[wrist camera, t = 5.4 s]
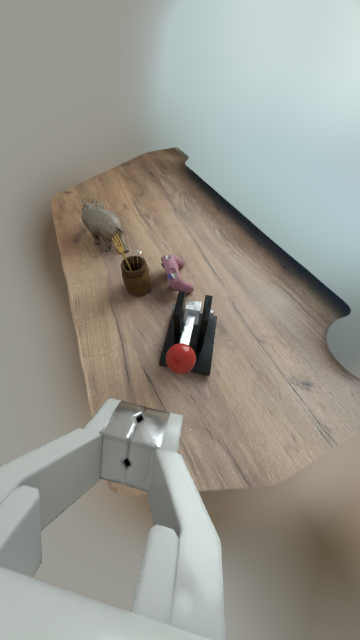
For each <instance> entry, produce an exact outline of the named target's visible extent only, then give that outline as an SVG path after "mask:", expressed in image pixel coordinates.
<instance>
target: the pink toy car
mask: <svg viewBox="0 0 360 640" xmlns="http://www.w3.org/2000/svg"><path fill="white" fill-rule="evenodd" d="M161 260H162V262H163V264H162V263H161V265H162V267H163V268H165V270H166V273H167V276H166V278H167V281H168V283H169V285H170V286H171V288H172V289H173V290H177V291H184V292H186V293H191V292H193V290H194V287H193V286H192V285H191V284H189V283H186V282H184V281H183V280H182V279H181V277H180V274H179V271H178V268H182V267H184V265H185V263H184V261H183V260H181V259H179V258H177V257H175V256H173V255H171V254H169V255H165V256H163V257H162V258H161Z"/></svg>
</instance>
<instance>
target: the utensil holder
mask: <svg viewBox="0 0 360 640" xmlns="http://www.w3.org/2000/svg"><path fill="white" fill-rule="evenodd" d="M116 236H117V238H118V240H119V242H120V244H119V242H118V240H117V239H116V237H115V236H114V238H115V240H116V242H117V245H118V247H119V248H118V247H117V245H116V243H115V241H114V239H113V238H112V241H113V243H114V245H115V247H116V249H117V251H118V252H119V253H122V255H123V257H124V260H123V261H122V263H121V270H122V277H123V280H124V283H125V286H126V288H127V290H128V292H129V293H130V294H132V295H135V296H141V295H145V294H146V293H148V292H149V291H150V289H151V286H152V282H151V276H150V271H149V269H148V267H147V264H146V261H145V260H144V259H143V258H144V256H143V258H142V256H141V257H140V256H138V254H137V256H130V257H127V258H126V257H125V255H124V253H123V251H124V246H123V244H122V242H121V240H120V238H119V236H118V234H116ZM120 245H121V246H120ZM134 251H135V250H134ZM136 252H138V253H139V250H138V251H136ZM133 253H134V252H132V254H133ZM141 253H142V252H141ZM132 254H131V255H132ZM139 254H140V253H139ZM142 254H143V253H142Z"/></svg>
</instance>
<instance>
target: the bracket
mask: <svg viewBox="0 0 360 640" xmlns="http://www.w3.org/2000/svg"><path fill="white" fill-rule="evenodd" d="M185 299H186V292H184V291H179V294H178V298H177V301H176V304H174V305H173V309H172V313H173V314H172V317H171V321H170V325H169V328H168V332H167V336H166V340H165V343H164V347H163V351H162V354H161V358H160V362H159V365H160V366H164V367H168V366H167V363H166V354H167V352H168V350H169V349H170V348H171V347H172V346H173V345H175V344H179V343H180V339H181V336H182V333H183V329H184V326H185V322H183V320H184V311H185ZM211 304H212V296H209V295H206V297H205V302H204V308H203V313H202V314H200V316H199V321H198V325H197V324H194V326H193V331H192V335H191V340H190V344H189V346H190V347H191V348H192V349H193V350H194V352H195V355H196V362H195V365H194V367H193V368H192V369H191V370H190V371H189V372H193V373H198V374H203V375H208V376H209V374H210V368H211V360H212V352H213V344H214V336H215V327H216V319H217V316H213V311H212V310H211Z"/></svg>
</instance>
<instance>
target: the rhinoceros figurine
mask: <svg viewBox="0 0 360 640" xmlns="http://www.w3.org/2000/svg"><path fill="white" fill-rule="evenodd" d="M82 201H83V202H84V204H83V206H84V208H82V211H83V212H82V221H83V223H84V224H85V226H86V227H88V229H89V231H90V232H91V234H92V236H93V237H94V239H95V241H94V243H96V244H99V243H100V242H101V241H100V239H99V237H98V236H100V237H102V239H103V240H104V241H105V245H104V247H103V250H104V251H108V250H110V249H111V246H112V245H111V241H112V238H113V239H115V238H114V236H115V237H116V239H118V238H117V236H116V234H118V236H119V238H120V240H121V242H122V244H123V246H124V251H125V253H127V251H129V250H128V248H127V247H126V245H125V241H124V235H123V233H124V230H123V229H122V224H121V221H120V219H119V218H118V217H117V216H116V215H115V214H114V213H112V212H110V211H108V210H105V209H103V204H102V200H101V203H100V205H99V204H96V202H97V200H96V199H93V201H92V203H91V204H90V203H85V201H84V200H82ZM95 204H96V205H95ZM123 253H124V252H123Z"/></svg>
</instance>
